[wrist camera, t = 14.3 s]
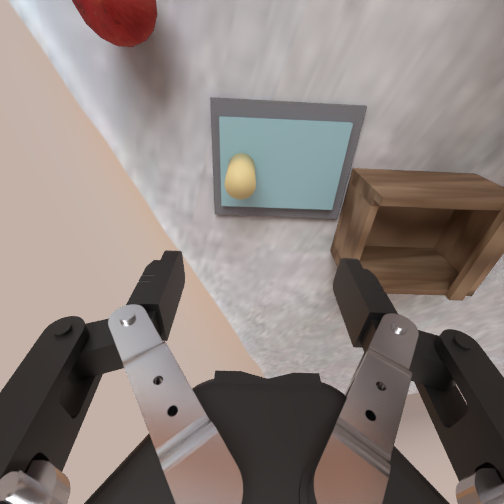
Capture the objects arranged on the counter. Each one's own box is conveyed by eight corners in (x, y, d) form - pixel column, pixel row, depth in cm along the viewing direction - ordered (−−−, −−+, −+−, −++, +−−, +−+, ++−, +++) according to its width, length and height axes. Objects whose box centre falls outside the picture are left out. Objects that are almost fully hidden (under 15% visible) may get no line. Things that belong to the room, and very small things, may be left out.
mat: (211, 97, 27) (210, 98, 26) (364, 105, 27) (367, 106, 27) (215, 212, 34) (214, 214, 34) (335, 216, 35) (337, 218, 34)
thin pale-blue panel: (219, 116, 27) (212, 127, 22) (350, 122, 28) (373, 135, 22) (222, 203, 33) (216, 228, 28) (330, 207, 33) (345, 232, 28)
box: (352, 168, 31) (386, 201, 23) (475, 173, 31) (547, 207, 24) (330, 250, 38) (350, 297, 30) (431, 254, 38) (476, 300, 31)
